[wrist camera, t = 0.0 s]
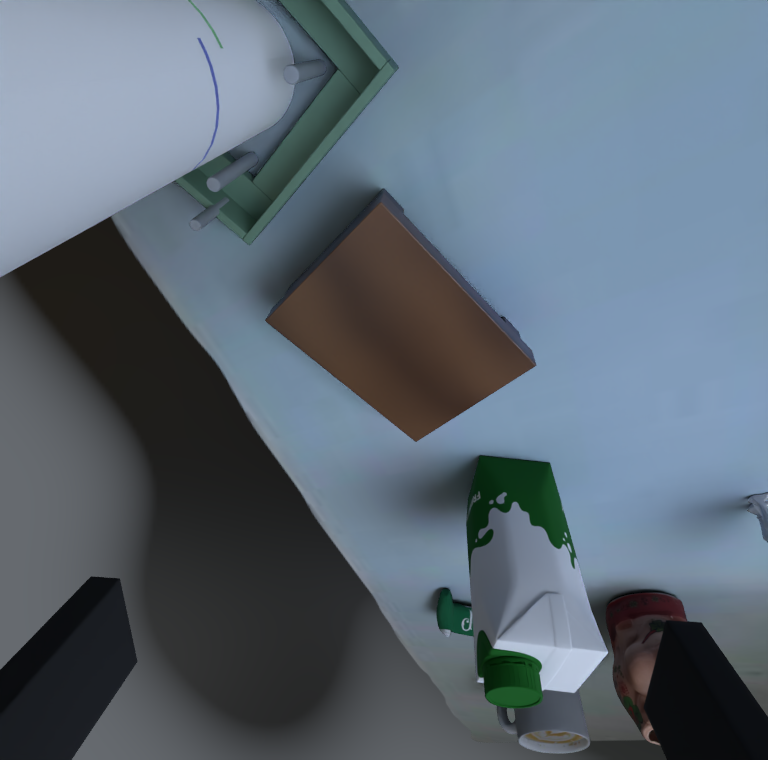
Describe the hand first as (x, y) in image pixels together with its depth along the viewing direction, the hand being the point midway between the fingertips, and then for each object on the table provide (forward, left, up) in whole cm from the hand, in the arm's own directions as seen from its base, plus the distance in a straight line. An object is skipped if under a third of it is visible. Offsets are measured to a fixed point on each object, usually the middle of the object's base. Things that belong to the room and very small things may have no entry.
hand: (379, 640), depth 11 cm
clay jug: (+13, +59, -28) cm, 66 cm away
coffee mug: (+35, +65, -28) cm, 79 cm away
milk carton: (+11, +26, -28) cm, 40 cm away
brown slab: (+5, +4, -28) cm, 28 cm away
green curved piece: (+30, +43, -28) cm, 59 cm away
